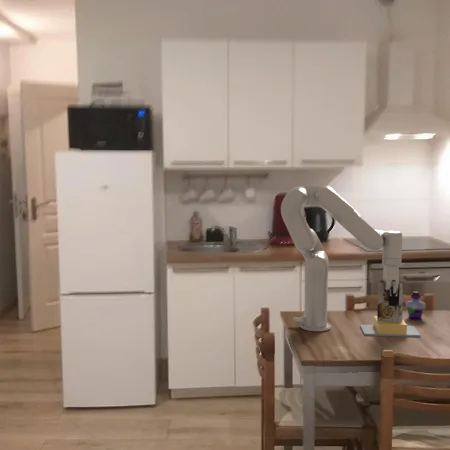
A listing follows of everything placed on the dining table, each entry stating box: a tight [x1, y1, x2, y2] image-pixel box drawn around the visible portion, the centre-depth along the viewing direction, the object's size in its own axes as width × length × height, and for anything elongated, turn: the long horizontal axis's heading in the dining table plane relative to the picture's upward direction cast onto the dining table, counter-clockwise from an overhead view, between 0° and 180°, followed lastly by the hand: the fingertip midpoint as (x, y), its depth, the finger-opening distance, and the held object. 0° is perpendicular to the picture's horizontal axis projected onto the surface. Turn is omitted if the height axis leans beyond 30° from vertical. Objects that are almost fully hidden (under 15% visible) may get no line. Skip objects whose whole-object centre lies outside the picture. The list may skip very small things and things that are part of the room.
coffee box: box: [376, 279, 404, 323], centre depth 249 cm, size 9×6×16 cm
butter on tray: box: [359, 315, 421, 338], centre depth 250 cm, size 22×13×5 cm, turn 85°
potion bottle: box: [405, 291, 427, 321], centre depth 271 cm, size 9×9×12 cm
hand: (390, 302), depth 249 cm, fingers open, 9 cm apart
